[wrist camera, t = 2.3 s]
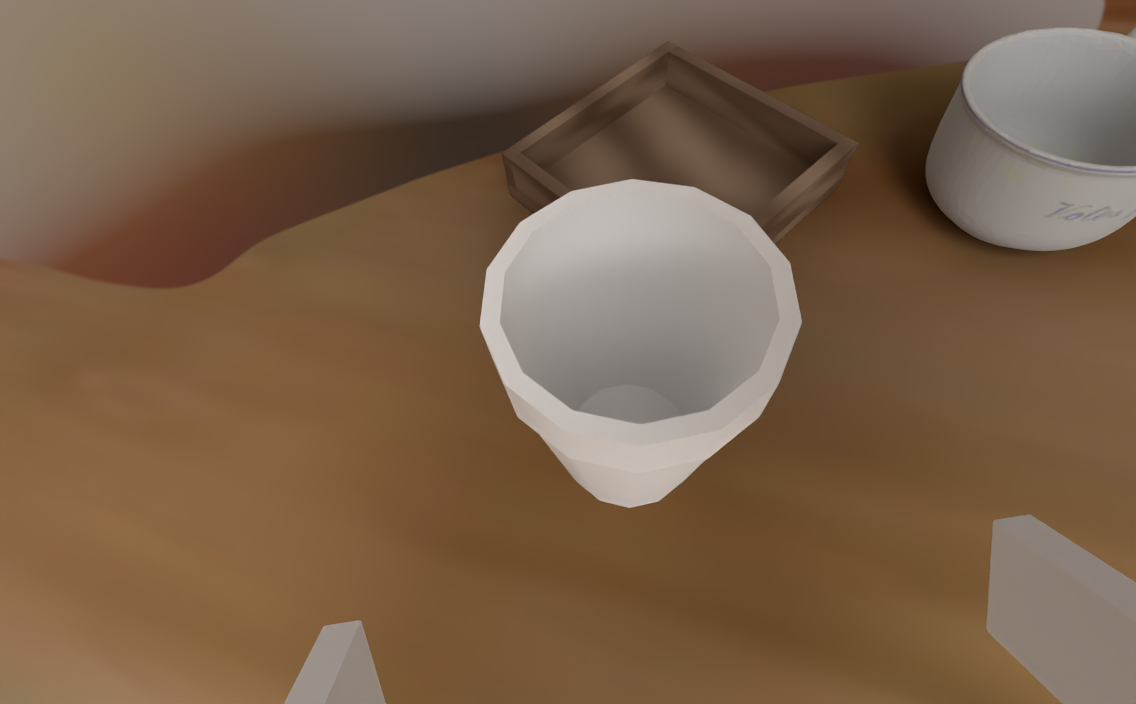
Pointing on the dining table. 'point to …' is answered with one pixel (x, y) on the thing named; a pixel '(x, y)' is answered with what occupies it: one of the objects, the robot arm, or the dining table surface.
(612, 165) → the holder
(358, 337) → the dining table surface
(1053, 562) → the robot arm
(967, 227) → the teacup
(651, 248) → the foam cup
